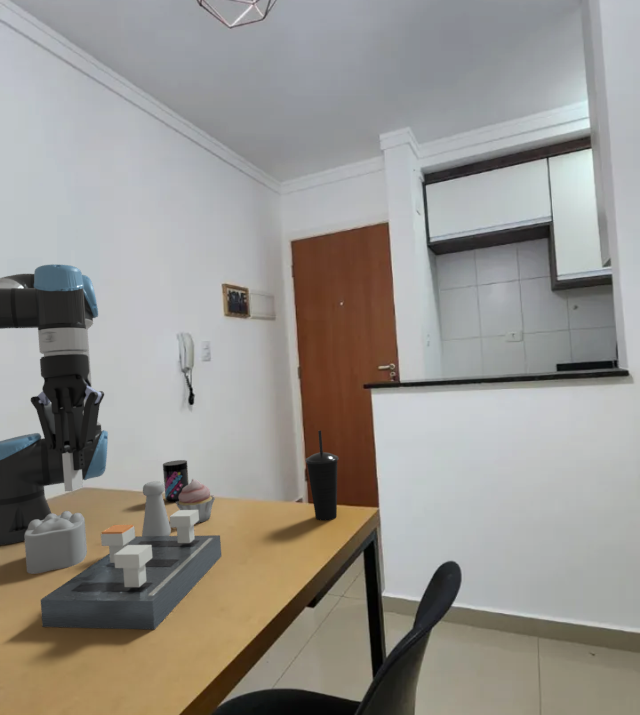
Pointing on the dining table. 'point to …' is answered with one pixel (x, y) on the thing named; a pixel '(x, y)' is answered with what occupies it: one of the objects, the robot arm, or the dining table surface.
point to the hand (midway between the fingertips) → (74, 488)
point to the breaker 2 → (184, 524)
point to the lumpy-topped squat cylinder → (55, 542)
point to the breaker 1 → (133, 563)
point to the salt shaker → (155, 511)
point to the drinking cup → (323, 483)
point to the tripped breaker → (117, 538)
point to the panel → (132, 604)
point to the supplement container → (175, 479)
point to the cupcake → (196, 499)
